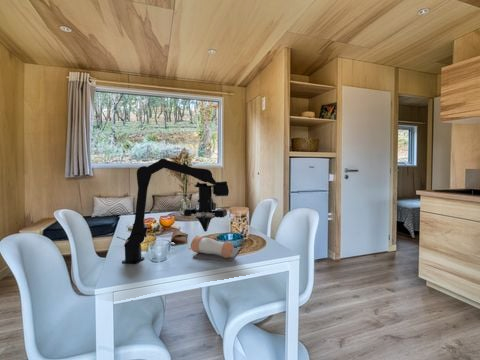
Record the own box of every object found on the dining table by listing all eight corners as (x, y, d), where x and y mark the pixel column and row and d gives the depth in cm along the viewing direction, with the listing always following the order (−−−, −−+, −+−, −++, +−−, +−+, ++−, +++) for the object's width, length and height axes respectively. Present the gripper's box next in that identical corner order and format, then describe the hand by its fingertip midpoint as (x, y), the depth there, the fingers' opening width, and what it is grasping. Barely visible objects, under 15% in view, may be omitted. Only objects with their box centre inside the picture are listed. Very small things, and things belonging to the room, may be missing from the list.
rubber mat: (231, 261, 107) (231, 260, 107) (193, 257, 111) (193, 256, 111) (241, 247, 125) (241, 246, 124) (208, 245, 129) (208, 244, 129)
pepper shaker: (189, 250, 113) (227, 257, 104) (194, 233, 116) (231, 239, 107) (198, 253, 119) (234, 261, 110) (202, 238, 122) (238, 244, 113)
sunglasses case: (188, 243, 131) (181, 232, 130) (176, 251, 130) (168, 240, 129) (188, 234, 149) (181, 224, 148) (177, 241, 148) (171, 231, 147)
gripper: (230, 195, 121) (230, 228, 122) (193, 194, 126) (194, 226, 127) (222, 198, 110) (223, 234, 111) (182, 197, 115) (183, 231, 116)
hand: (205, 231), depth 117 cm, fingers closed
